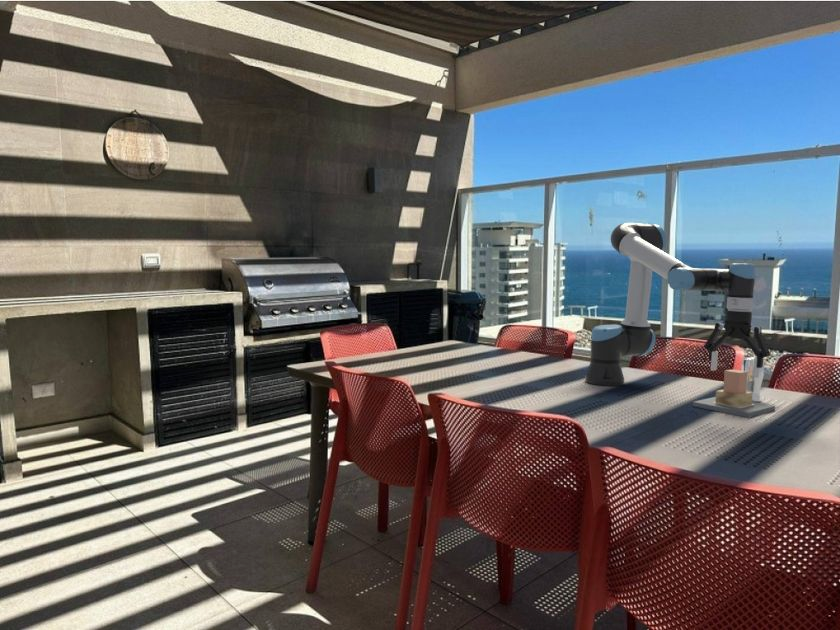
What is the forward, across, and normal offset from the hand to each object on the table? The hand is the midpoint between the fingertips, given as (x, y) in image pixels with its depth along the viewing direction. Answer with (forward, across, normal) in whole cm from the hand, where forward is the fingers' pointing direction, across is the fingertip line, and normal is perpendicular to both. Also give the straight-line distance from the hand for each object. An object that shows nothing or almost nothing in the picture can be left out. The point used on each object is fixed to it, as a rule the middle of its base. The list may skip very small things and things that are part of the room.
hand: (734, 373), depth 189 cm
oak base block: (+10, +1, 0) cm, 10 cm away
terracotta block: (+6, +1, 0) cm, 6 cm away
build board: (+12, +1, 0) cm, 12 cm away
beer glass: (+12, -2, +19) cm, 22 cm away
